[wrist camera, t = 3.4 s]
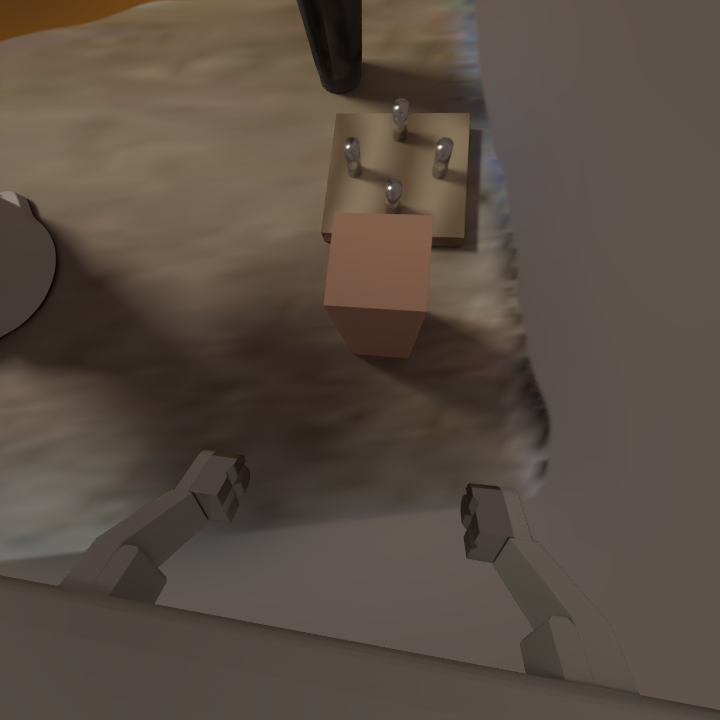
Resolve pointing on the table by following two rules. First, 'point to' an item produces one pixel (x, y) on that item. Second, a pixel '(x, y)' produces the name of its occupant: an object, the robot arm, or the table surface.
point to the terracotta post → (379, 280)
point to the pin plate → (401, 168)
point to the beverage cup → (335, 41)
